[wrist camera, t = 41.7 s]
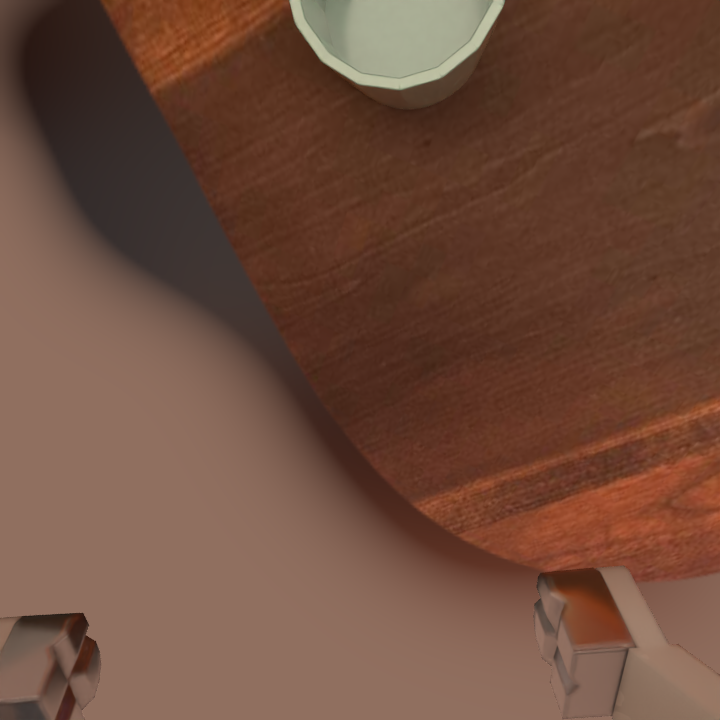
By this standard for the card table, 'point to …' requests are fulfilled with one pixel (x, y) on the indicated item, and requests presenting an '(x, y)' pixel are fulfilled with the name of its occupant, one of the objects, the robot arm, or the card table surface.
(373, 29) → the tumbler
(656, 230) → the card table surface
